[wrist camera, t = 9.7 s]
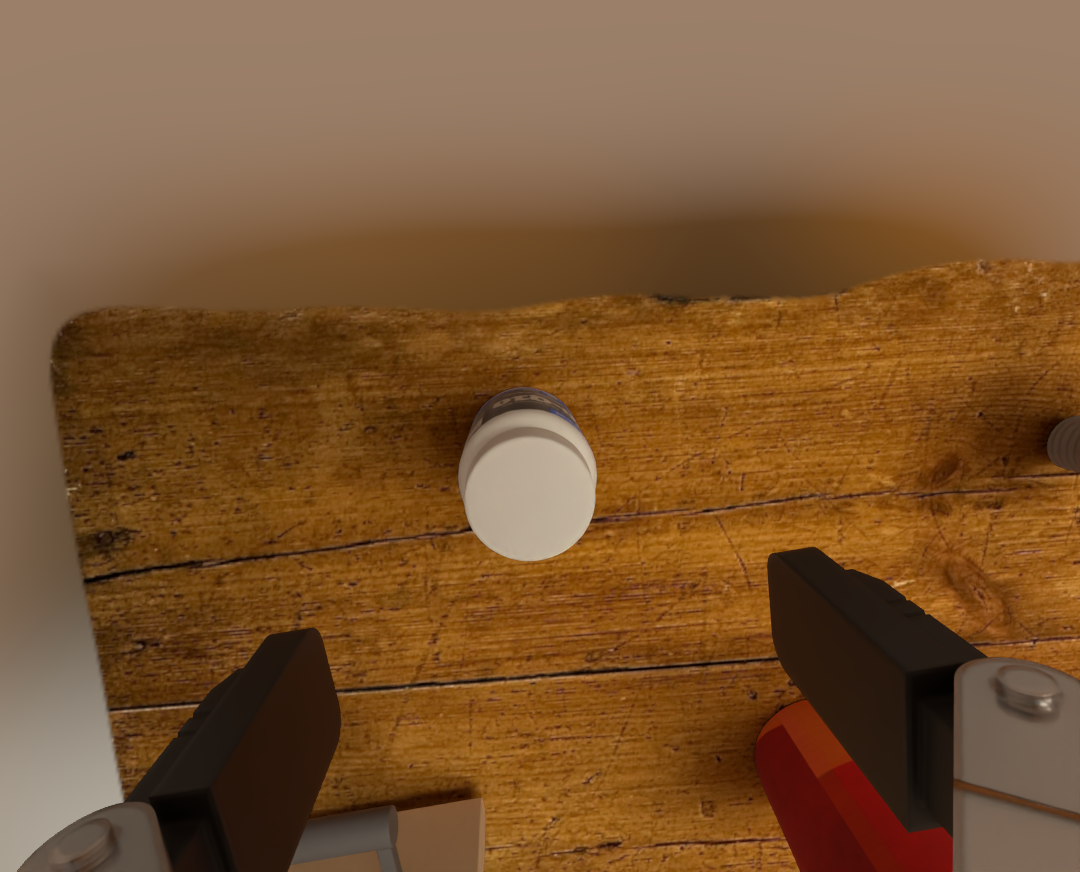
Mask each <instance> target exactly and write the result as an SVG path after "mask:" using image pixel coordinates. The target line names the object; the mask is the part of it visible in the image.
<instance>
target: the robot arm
mask: <svg viewBox="0 0 1080 872" xmlns="http://www.w3.org/2000/svg"><path fill="white" fill-rule="evenodd" d="M767 570H768V584H769V598H770V612H771V626H772V637H773V642H774V646H775V650H776V653H777V656H778V658H779V661H780V663H781V665H782V667H783V668H784V670H785V672H786V673H787V674H788V676H789V677H790V678H791V680H792V681H793V682H794V683H795V685H796V686H797V687H798V689H799V690H800V691H801V693H802V694H803V695H804V697H805V698H806V699H807V701H808V702H809V703H810V704H811V706H812V707H813V708H814V710H815V711H816V712H817V714H818V715H819V716H820V718H821V719H822V720H823V722H824V723H825V724H826V725H827V727H828V728H829V729H830V731H831V732H832V733H833V735H834V736H835V737H836V739H837V740H838V741H839V743H840V744H841V745H842V746H843V748H844V749H845V750H846V752H847V753H848V754H849V756H850V757H851V758H852V760H853V761H854V762H855V764H856V765H857V766H858V767H859V769H860V770H861V771H862V773H863V774H864V775H865V777H866V778H867V779H868V781H869V782H870V783H871V785H872V786H873V787H874V788H875V790H876V791H877V792H878V794H879V795H880V796H881V798H882V799H883V800H884V802H885V803H886V804H887V806H888V807H889V808H890V810H891V811H892V812H893V813H894V815H895V816H896V817H897V819H898V820H899V821H900V823H901V824H902V825H903V827H904V828H905V829H906V831H907V832H908V833H911V832H917V831H923V830H929V829H934V828H940V827H943V828H944V829H945V830H946V831H947V833H948V834H949V835H950V836H951V837H952V839H953V872H1080V680H1079V679H1077V678H1075V677H1073V676H1071V675H1069V674H1067V673H1065V672H1062V671H1060V670H1057V669H1055V668H1052V667H1049V666H1046V665H1043V664H1039V663H1036V662H1031V661H1026V660H1022V659H1014V658H1003V657H990V658H989V657H987V656H986V655H984V654H983V653H982V652H980V651H979V650H978V649H976V648H975V647H973V646H972V645H971V644H969V643H968V642H967V641H965V640H964V639H962V638H961V637H960V636H958V635H957V634H956V633H954V632H953V631H951V630H950V629H949V628H947V627H946V626H945V625H943V624H942V623H940V622H939V621H938V620H936V619H935V618H934V617H932V616H931V615H929V614H927V615H926V614H925V612H924V610H923V609H921V608H920V607H918V606H917V605H916V604H914V603H913V602H912V601H910V600H908V601H907V600H906V598H905V596H903V595H902V594H901V593H899V592H898V591H896V590H895V589H894V588H892V587H891V586H890V585H888V584H887V583H886V582H884V581H882V580H880V579H877V578H875V577H872V576H869V575H867V574H864V573H862V572H859V571H856V570H854V569H850V570H845V569H844V568H842V567H841V566H840V565H838V564H837V563H836V562H835V561H833V560H832V559H831V558H829V557H828V556H827V555H826V554H824V553H823V552H822V551H820V550H819V549H818V548H816V547H808V548H802V549H796V550H790V551H784V552H778V553H772V554H770V556H769V558H768V564H767ZM340 728H341V715H340V707H339V702H338V698H337V694H336V690H335V686H334V683H333V679H332V675H331V671H330V667H329V663H328V659H327V655H326V651H325V648H324V644H323V640H322V637H321V635H320V633H319V631H318V630H317V629H315V628H307V629H301V630H295V631H289V632H283V633H276V634H271V635H269V636H267V637H266V639H265V640H264V641H263V643H262V644H261V645H260V647H259V648H258V649H257V651H256V652H255V653H254V655H253V656H252V657H251V659H250V660H249V662H248V663H247V664H246V666H245V667H244V668H241V669H238V670H236V671H235V672H234V673H233V674H231V675H230V676H229V677H228V678H226V679H225V680H224V681H222V682H221V683H220V684H219V685H217V686H216V687H215V688H213V689H212V690H211V691H210V692H209V694H208V695H207V696H206V697H205V699H204V700H203V701H202V703H201V704H200V705H199V706H198V708H197V709H196V710H195V712H194V713H193V718H189V719H188V721H187V722H186V723H185V724H184V726H183V727H182V728H181V730H180V731H179V732H178V737H177V738H174V739H173V740H172V741H171V742H170V744H169V745H168V746H167V747H166V749H165V750H164V751H163V753H162V754H161V755H160V756H159V758H158V759H157V760H156V762H155V763H154V764H153V765H152V767H151V768H150V769H149V771H148V772H147V773H146V774H145V776H144V777H143V778H142V780H141V781H140V782H139V783H138V785H137V786H136V787H135V789H134V790H133V791H132V792H131V794H130V795H129V796H128V798H127V799H126V800H125V801H124V803H119V804H115V805H112V806H108V807H105V808H103V809H100V810H98V811H95V812H93V813H91V814H89V815H87V816H85V817H83V818H81V819H79V820H77V821H76V822H74V823H72V824H70V825H69V826H67V827H66V828H64V829H63V830H61V831H60V832H58V833H57V834H55V835H54V836H53V837H51V838H50V839H49V840H47V841H46V842H45V843H44V844H43V845H42V846H40V847H39V848H38V849H37V850H36V851H35V852H34V853H33V854H32V855H31V856H30V857H29V858H28V859H27V860H26V861H25V862H24V863H23V864H22V866H21V867H20V868H19V869H18V870H17V872H288V870H289V867H290V865H291V862H292V860H293V857H294V854H295V852H296V849H297V847H298V844H299V842H300V839H301V837H302V834H303V831H304V829H305V826H306V824H307V821H308V819H309V816H310V814H311V811H312V809H313V806H314V803H315V801H316V798H317V796H318V793H319V791H320V788H321V786H322V783H323V781H324V778H325V775H326V773H327V770H328V768H329V765H330V763H331V760H332V758H333V755H334V753H335V750H336V747H337V745H338V741H339V736H340Z"/></svg>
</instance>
